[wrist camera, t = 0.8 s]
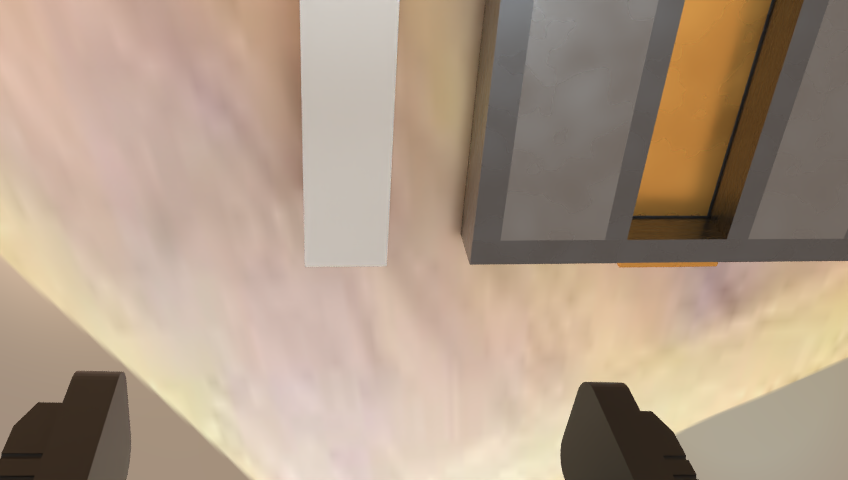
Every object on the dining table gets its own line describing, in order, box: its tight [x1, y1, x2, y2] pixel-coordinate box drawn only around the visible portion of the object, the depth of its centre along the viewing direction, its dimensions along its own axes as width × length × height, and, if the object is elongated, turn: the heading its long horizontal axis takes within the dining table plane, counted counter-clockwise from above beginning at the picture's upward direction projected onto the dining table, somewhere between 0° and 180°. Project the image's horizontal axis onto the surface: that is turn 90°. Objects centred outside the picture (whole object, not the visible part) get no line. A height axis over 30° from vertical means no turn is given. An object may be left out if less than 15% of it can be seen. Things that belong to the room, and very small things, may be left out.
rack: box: [461, 0, 848, 267], centre depth 31 cm, size 18×15×2 cm
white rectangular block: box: [300, 0, 400, 267], centre depth 28 cm, size 3×10×6 cm, turn 176°
